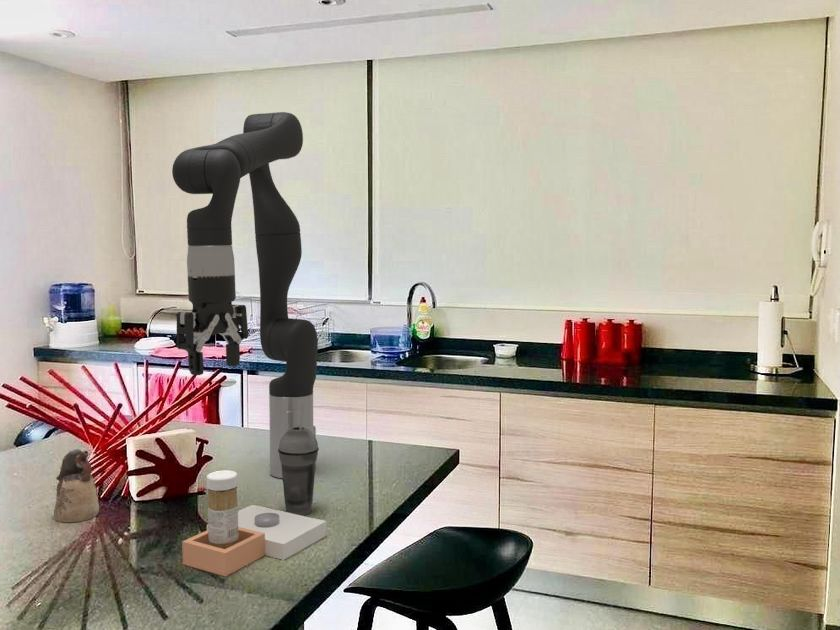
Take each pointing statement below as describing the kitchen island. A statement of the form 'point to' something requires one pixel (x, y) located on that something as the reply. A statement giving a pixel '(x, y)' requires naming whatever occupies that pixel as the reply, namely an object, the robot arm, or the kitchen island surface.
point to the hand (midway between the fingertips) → (215, 369)
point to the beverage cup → (298, 468)
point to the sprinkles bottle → (222, 508)
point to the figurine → (76, 489)
